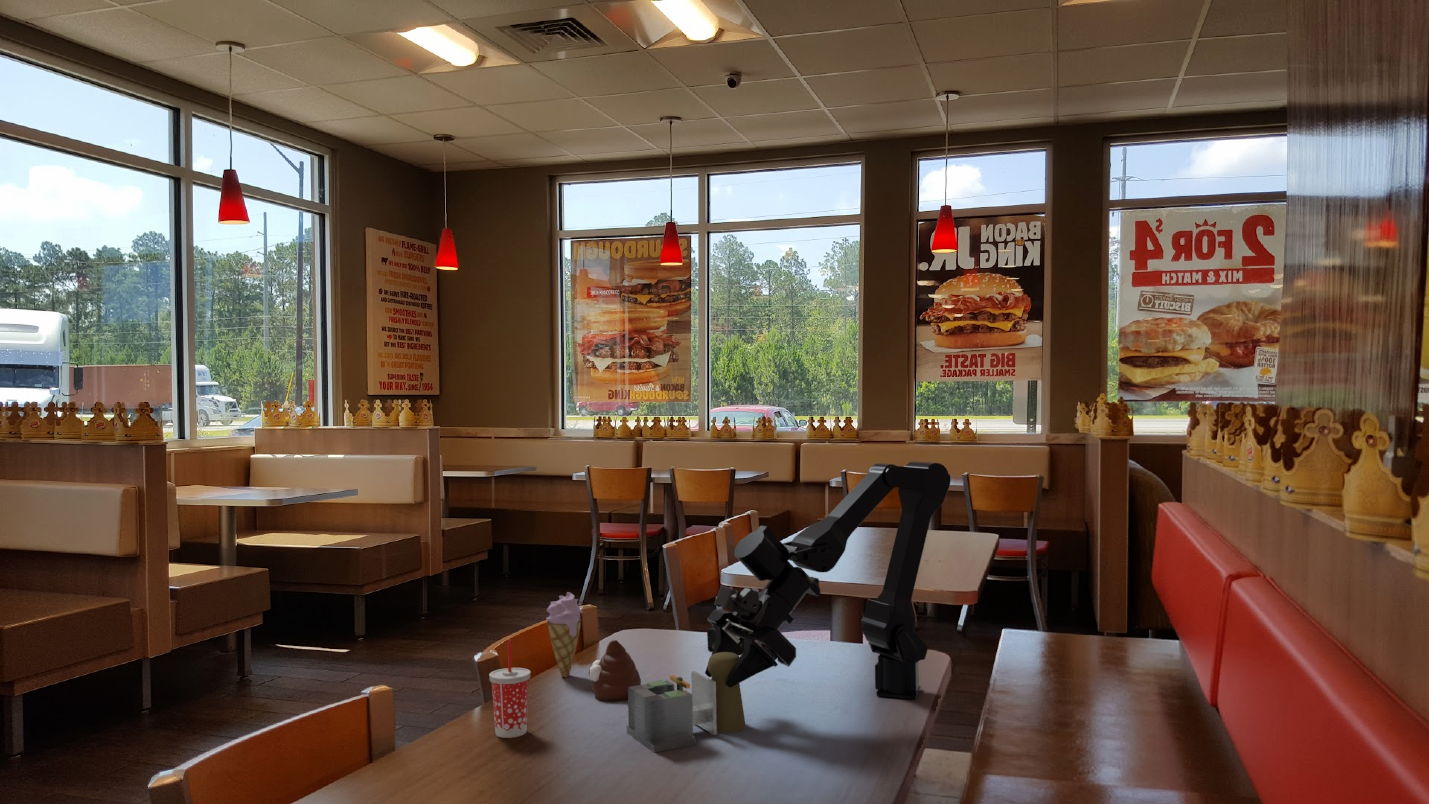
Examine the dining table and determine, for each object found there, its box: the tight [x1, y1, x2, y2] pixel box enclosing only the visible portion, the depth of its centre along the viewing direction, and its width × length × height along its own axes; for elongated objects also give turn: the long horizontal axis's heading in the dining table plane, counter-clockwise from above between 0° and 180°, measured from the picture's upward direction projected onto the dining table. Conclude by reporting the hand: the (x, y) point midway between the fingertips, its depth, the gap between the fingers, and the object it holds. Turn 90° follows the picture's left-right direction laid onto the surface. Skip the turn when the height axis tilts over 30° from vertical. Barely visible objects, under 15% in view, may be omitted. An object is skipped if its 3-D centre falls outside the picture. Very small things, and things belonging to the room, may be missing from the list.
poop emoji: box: [588, 639, 642, 702], centre depth 169 cm, size 10×8×9 cm
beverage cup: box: [488, 638, 531, 739], centre depth 149 cm, size 6×6×14 cm
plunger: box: [669, 670, 718, 735], centre depth 148 cm, size 4×7×8 cm, turn 28°
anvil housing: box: [626, 679, 697, 753], centre depth 145 cm, size 6×10×7 cm, turn 28°
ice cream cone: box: [545, 591, 584, 678], centre depth 180 cm, size 7×6×15 cm
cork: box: [707, 652, 746, 734], centre depth 150 cm, size 6×6×11 cm
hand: (717, 680), depth 150 cm, fingers open, 6 cm apart
